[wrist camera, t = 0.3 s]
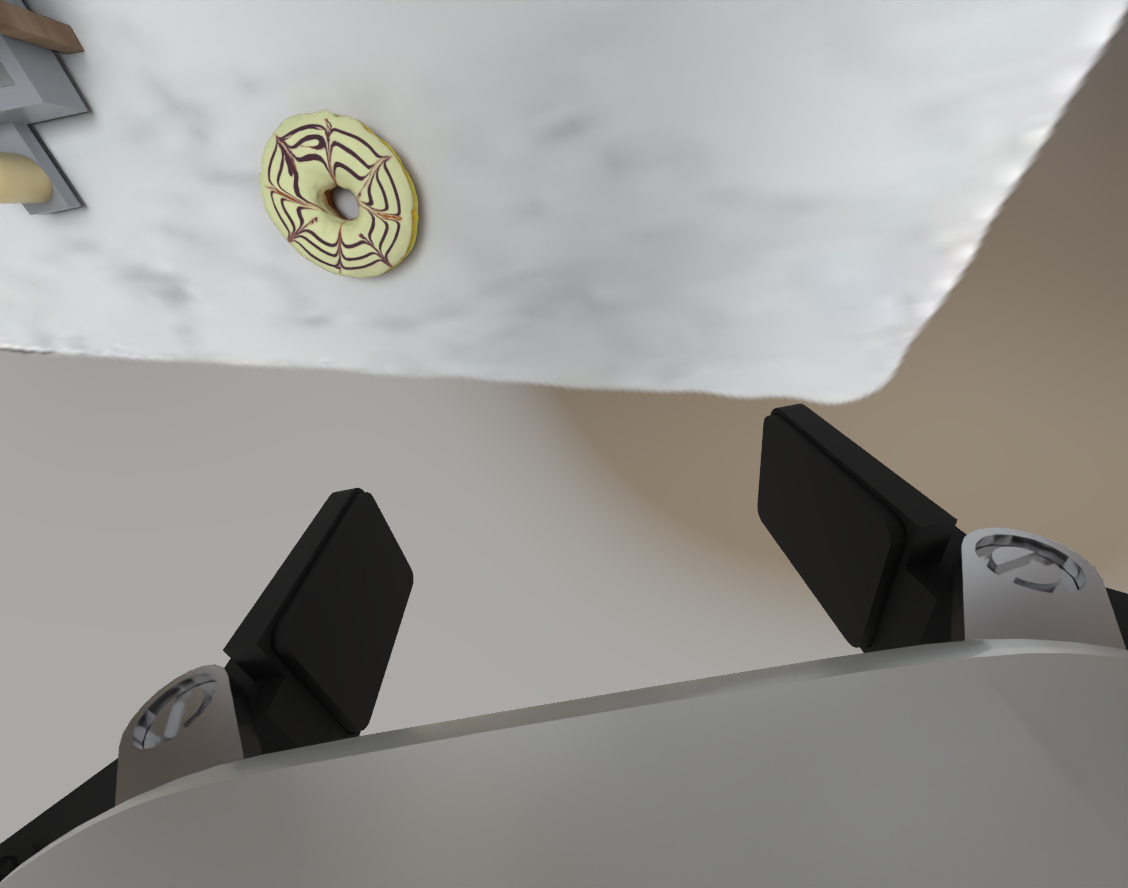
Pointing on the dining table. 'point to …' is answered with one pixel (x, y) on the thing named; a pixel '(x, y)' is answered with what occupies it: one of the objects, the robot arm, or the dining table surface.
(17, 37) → the tunnel
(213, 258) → the dining table surface
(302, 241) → the decorated donut
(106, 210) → the dining table surface
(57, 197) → the slider
